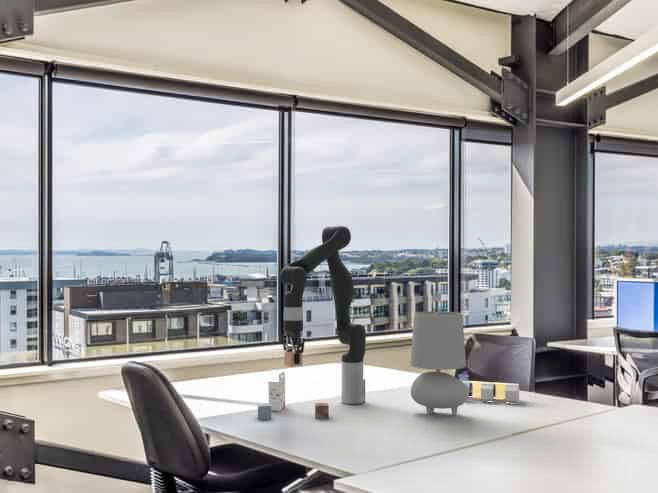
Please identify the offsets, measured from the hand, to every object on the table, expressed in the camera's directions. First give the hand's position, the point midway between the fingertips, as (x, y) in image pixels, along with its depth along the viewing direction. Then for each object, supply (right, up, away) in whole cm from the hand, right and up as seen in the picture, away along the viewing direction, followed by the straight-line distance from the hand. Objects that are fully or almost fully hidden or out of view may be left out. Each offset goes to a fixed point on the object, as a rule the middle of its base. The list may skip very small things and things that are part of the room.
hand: (293, 362), depth 279 cm
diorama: (+82, -22, +32) cm, 91 cm away
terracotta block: (0, -1, 0) cm, 1 cm away
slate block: (-11, -21, -1) cm, 24 cm away
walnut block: (+11, -21, 0) cm, 24 cm away
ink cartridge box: (-7, -21, +15) cm, 27 cm away
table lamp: (+57, -21, +5) cm, 61 cm away
